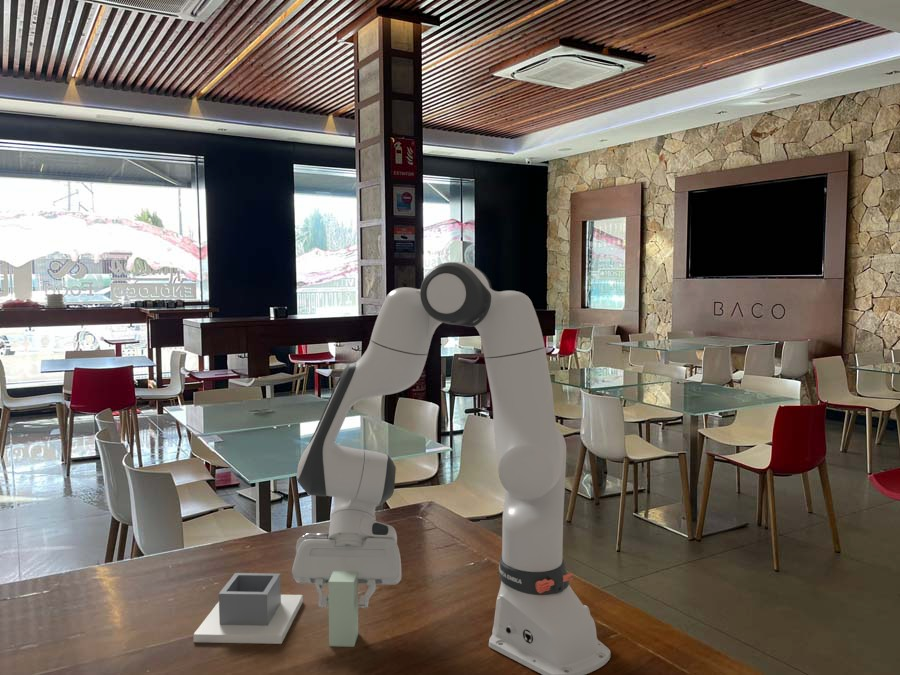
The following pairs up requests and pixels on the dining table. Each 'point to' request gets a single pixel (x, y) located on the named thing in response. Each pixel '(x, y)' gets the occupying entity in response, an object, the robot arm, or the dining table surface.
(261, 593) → the well stand
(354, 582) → the sage block
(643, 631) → the dining table surface
